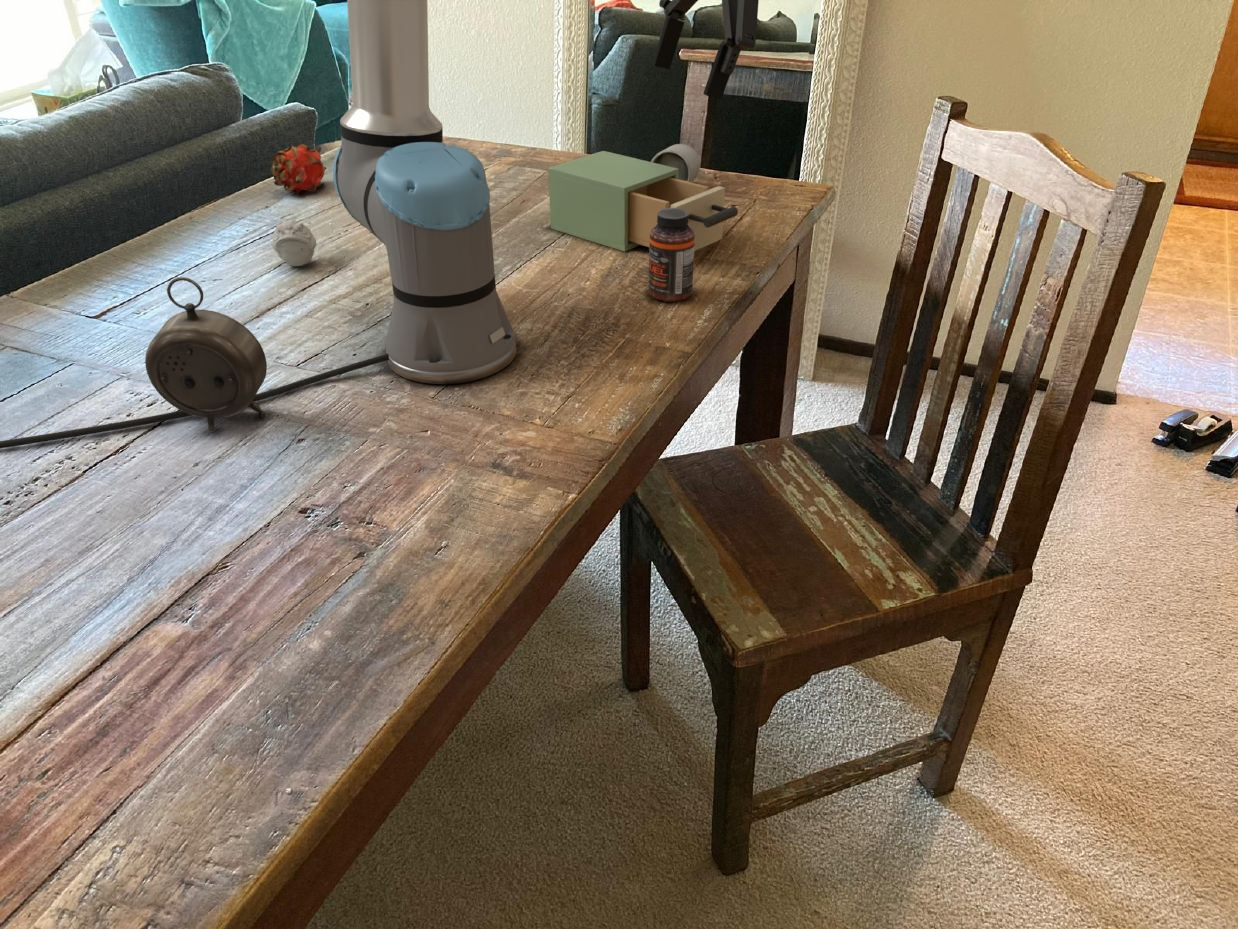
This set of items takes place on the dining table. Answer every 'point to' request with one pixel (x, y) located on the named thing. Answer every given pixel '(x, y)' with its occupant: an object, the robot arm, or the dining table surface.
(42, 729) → the dining table surface
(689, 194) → the drawer
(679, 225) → the supplement bottle
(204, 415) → the alarm clock
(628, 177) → the cabinet
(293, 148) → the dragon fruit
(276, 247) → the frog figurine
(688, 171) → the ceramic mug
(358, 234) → the dining table surface
